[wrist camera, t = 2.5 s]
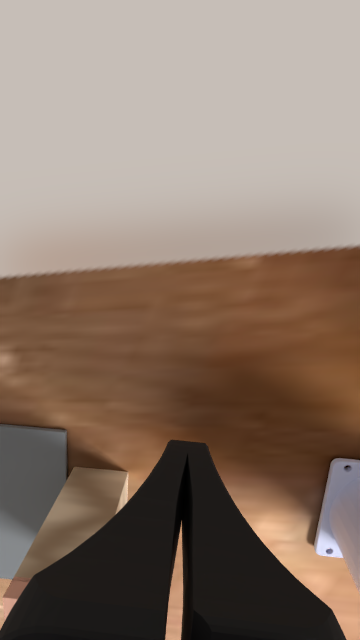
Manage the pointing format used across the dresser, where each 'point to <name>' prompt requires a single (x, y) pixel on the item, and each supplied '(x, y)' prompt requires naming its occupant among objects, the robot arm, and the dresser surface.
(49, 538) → the birch block
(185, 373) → the dresser surface
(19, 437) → the mat
